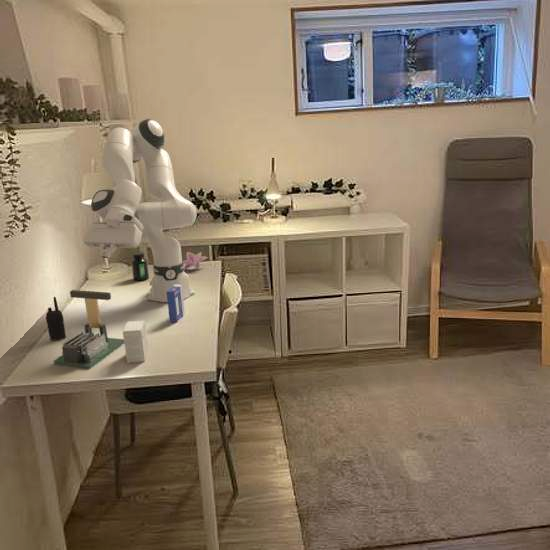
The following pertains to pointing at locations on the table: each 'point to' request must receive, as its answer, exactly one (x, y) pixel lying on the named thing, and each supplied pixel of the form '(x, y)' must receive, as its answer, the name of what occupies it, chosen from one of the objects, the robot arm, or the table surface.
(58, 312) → the two-way radio
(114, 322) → the table surface
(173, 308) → the walkman
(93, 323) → the lever
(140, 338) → the small box
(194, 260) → the lily
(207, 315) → the table surface
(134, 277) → the supplement bottle
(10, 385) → the table surface
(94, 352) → the board
